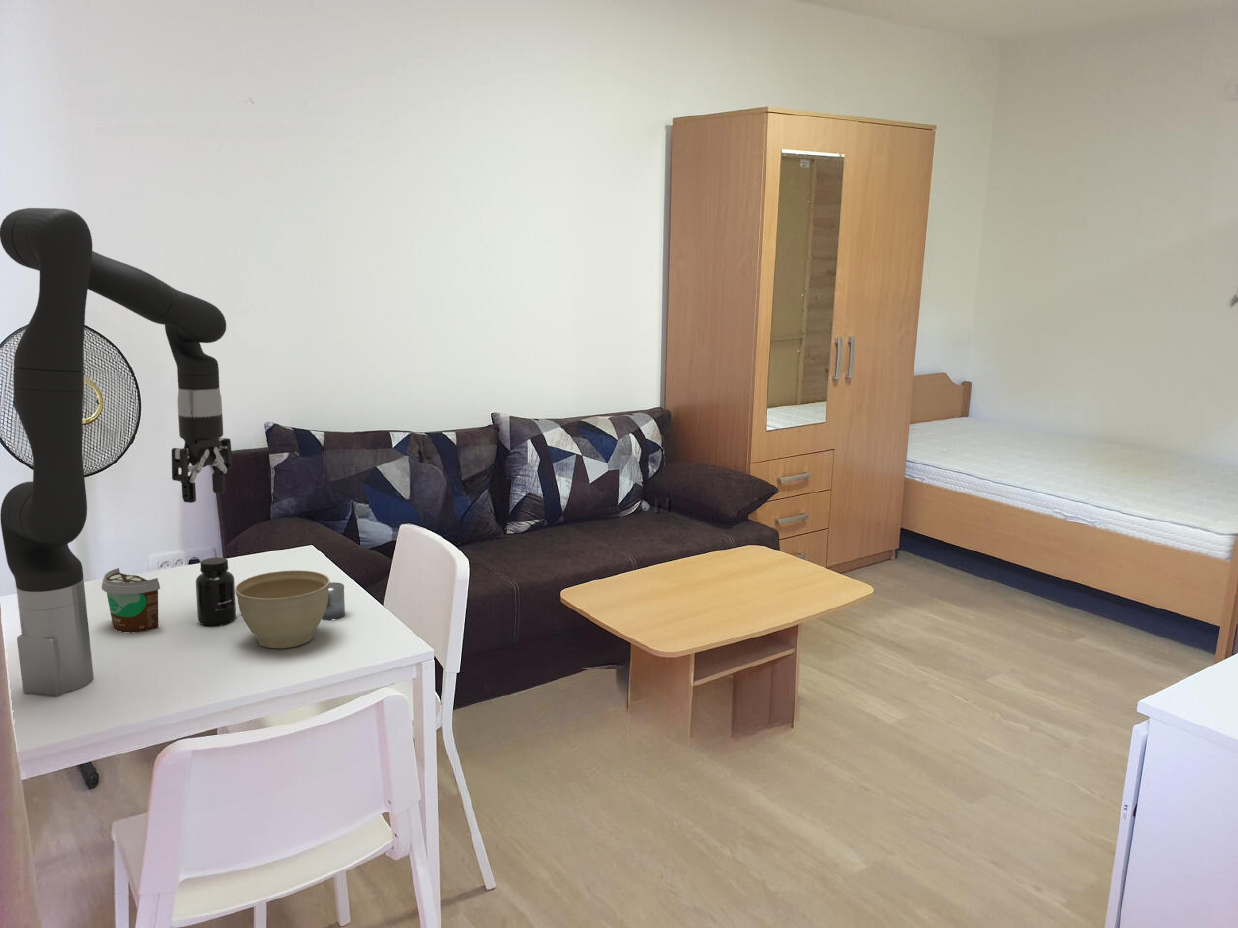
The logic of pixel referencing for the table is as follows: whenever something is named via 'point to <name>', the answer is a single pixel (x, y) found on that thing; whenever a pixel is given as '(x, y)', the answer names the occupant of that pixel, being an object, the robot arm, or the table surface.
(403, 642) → the table surface
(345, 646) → the table surface
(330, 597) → the dark grey metal cylinder
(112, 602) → the food container
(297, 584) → the planter bowl
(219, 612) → the supplement bottle
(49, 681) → the robot arm
